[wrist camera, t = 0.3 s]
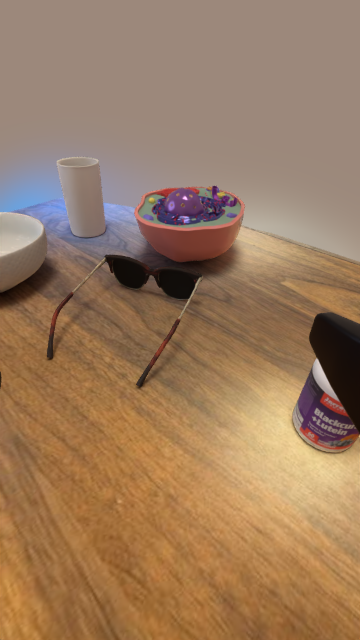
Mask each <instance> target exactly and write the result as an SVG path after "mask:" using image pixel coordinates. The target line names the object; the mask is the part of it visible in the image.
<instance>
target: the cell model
mask: <svg viewBox="0 0 360 640" xmlns="http://www.w3.org/2000/svg"><path fill="white" fill-rule="evenodd" d="M244 208H245V205H244V203H243V202H242V201H241V200H240V199H239V198H238V197H237V196H236V195H234V194H233V193H230V192H227V191H222V190H219V189H218V187H217V186H212V187H208V188H205V187H188V188H166V189H161V190H156V191H152V192H149V193H146V194H144V195H143V196H142V200H141V203H140V204H139V205H138V206H137V207H136V209H135V212H134V214H135V217H136V220H137V223H138V226H139V229H140V232H141V234H142V235H143V237H144V238H145V239H146V240H147V241H148V242H149V243H150V245H151V246H152V247H153V248H154V249H155V250H156V251H157V252H158V253H160V254H162V255H163V256H165V257H167V258H169V259H171V260H173V261H176V262H190V261H202V260H207V259H213V258H215V257H218V256H220V255H221V254H223V253H225V252H226V251H227V250H228V249H229V248H230V247H231V246H232V245H233V243H234V242H235V240H236V238H237V236H238V233H239V230H240V227H241V224H242V220H243V215H244Z"/></svg>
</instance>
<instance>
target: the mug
mask: <svg viewBox="0 0 360 640" xmlns="http://www.w3.org/2000/svg"><path fill="white" fill-rule="evenodd" d="M57 167H58V173H59V177H60V182H61V187H62V191H63V196H64V200H65V205H66V209H67V214H68V218H69V223H70V227H71V231H72V233H73V234H74V235H75V236H78V237H86V238H87V237H95V236H99V235H101V234H103V233H104V232H105V230H106V228H105V216H104V207H103V197H102V187H101V177H100V168H99V161H98V160H97V159H94V158H88V157H71V158H64V159H61V160H58V161H57Z"/></svg>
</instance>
